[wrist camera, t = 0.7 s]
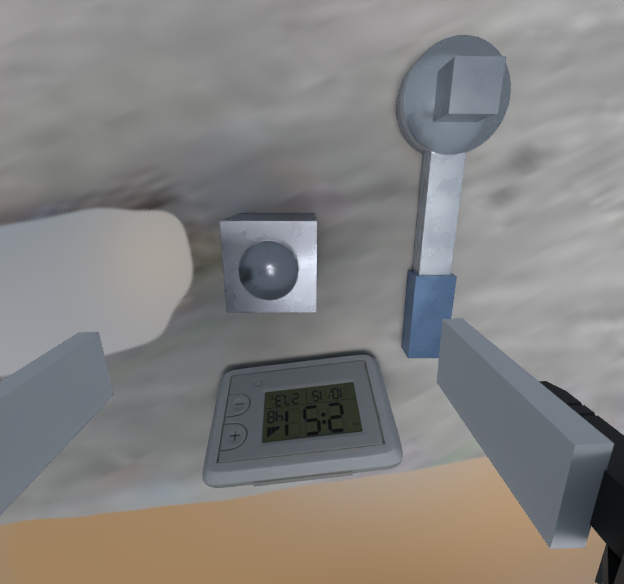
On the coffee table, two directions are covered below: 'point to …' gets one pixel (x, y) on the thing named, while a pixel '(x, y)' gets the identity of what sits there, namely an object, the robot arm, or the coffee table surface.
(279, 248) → the socket
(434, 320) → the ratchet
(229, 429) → the digital clock
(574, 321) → the coffee table surface
